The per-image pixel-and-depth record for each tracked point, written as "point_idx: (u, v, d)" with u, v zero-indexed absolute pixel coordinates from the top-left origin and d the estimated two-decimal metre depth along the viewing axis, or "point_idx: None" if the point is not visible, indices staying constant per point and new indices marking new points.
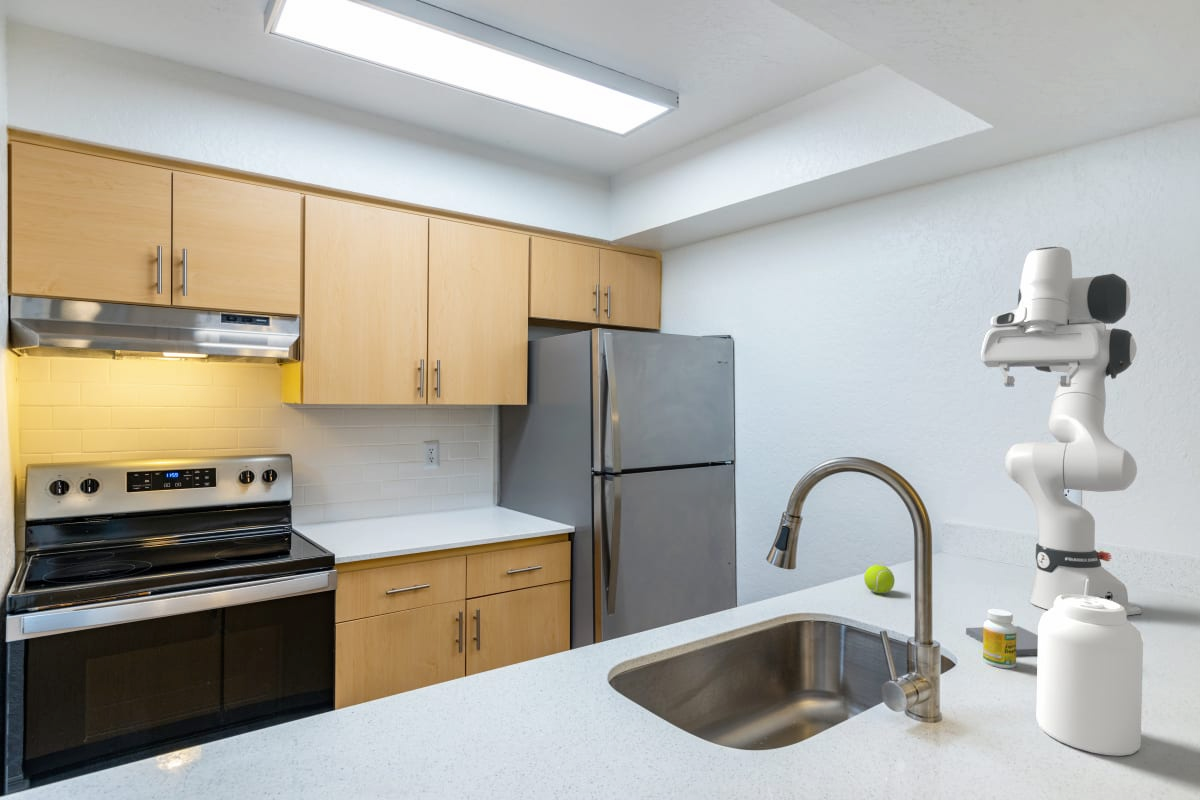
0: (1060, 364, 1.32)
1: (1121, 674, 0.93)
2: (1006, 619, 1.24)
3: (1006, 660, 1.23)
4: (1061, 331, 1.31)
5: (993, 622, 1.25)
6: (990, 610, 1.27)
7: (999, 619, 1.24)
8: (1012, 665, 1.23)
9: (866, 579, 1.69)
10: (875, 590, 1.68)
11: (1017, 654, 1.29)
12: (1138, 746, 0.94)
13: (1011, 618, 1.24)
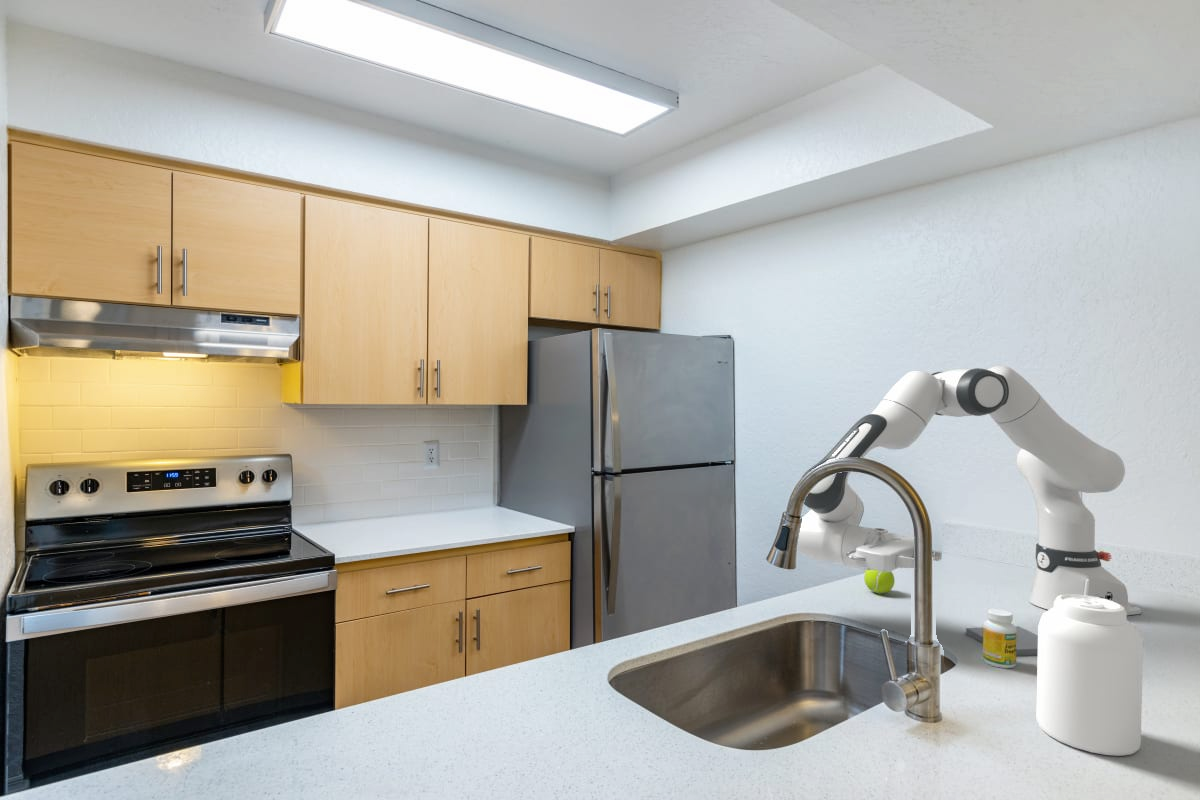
0: None
1: (1121, 674, 0.93)
2: (1006, 619, 1.24)
3: (1006, 660, 1.23)
4: None
5: (993, 622, 1.25)
6: (990, 610, 1.27)
7: (999, 619, 1.24)
8: (1012, 665, 1.23)
9: (866, 579, 1.69)
10: (875, 590, 1.68)
11: (1017, 654, 1.29)
12: (1138, 746, 0.94)
13: (1011, 618, 1.24)
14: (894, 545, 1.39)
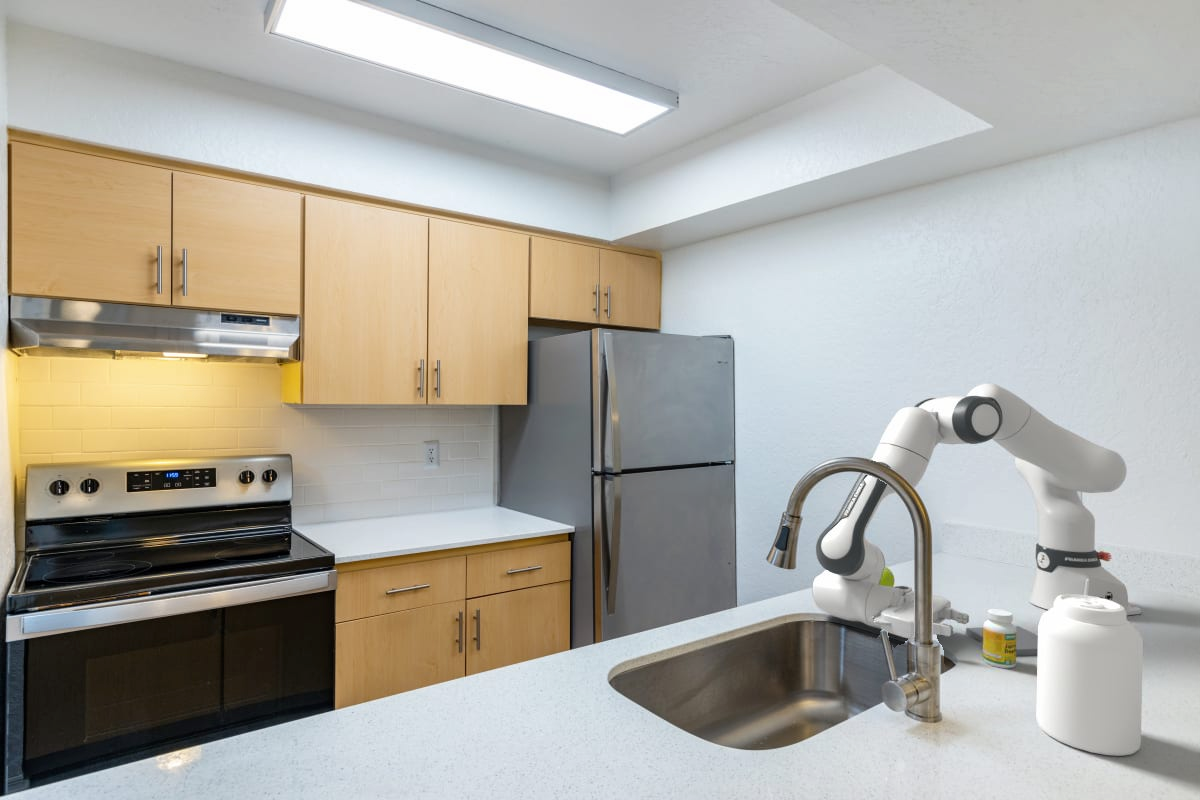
0: None
1: (1121, 674, 0.93)
2: (1006, 619, 1.24)
3: (1006, 660, 1.23)
4: None
5: (993, 622, 1.25)
6: (990, 610, 1.27)
7: (999, 619, 1.24)
8: (1012, 665, 1.23)
9: None
10: None
11: (1017, 654, 1.29)
12: (1138, 746, 0.94)
13: (1011, 618, 1.24)
14: None
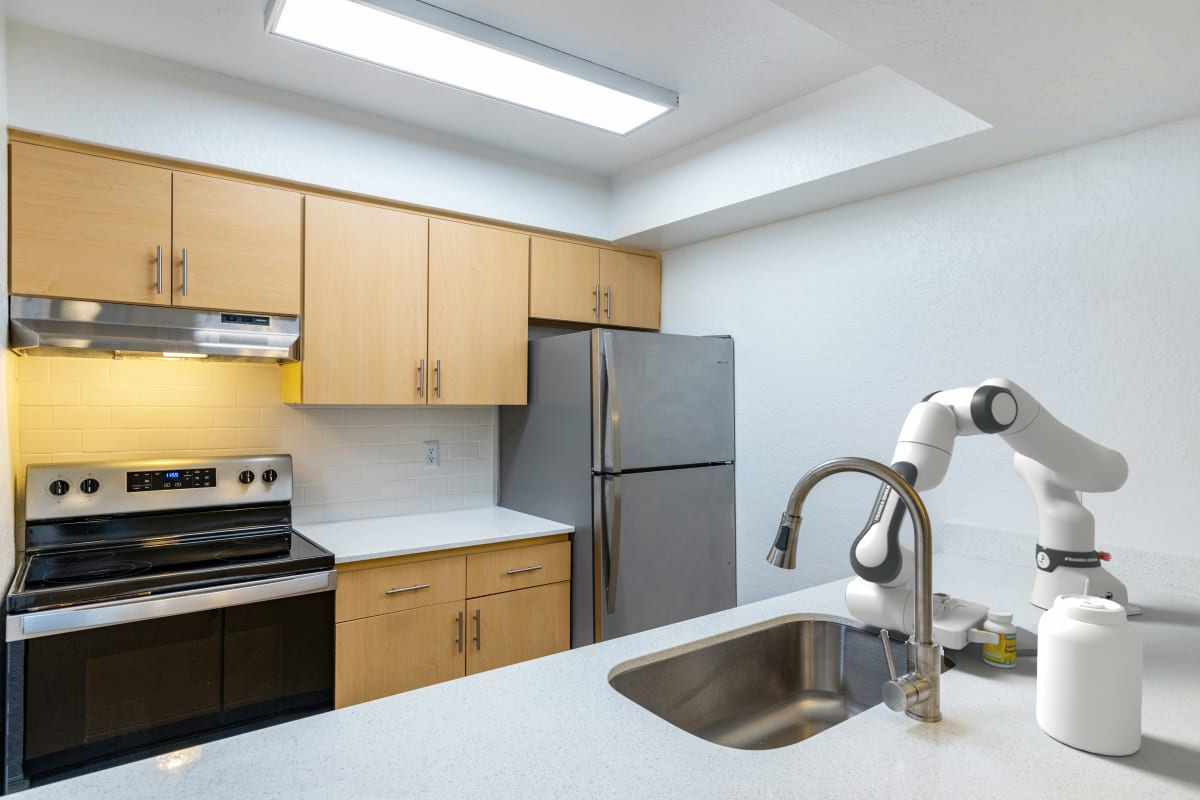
0: None
1: (1121, 674, 0.93)
2: (1006, 619, 1.24)
3: (1006, 659, 1.23)
4: None
5: (993, 622, 1.25)
6: (990, 610, 1.27)
7: (999, 619, 1.24)
8: (1012, 665, 1.23)
9: None
10: None
11: (1017, 654, 1.29)
12: (1138, 746, 0.94)
13: (1011, 618, 1.24)
14: (961, 616, 1.30)
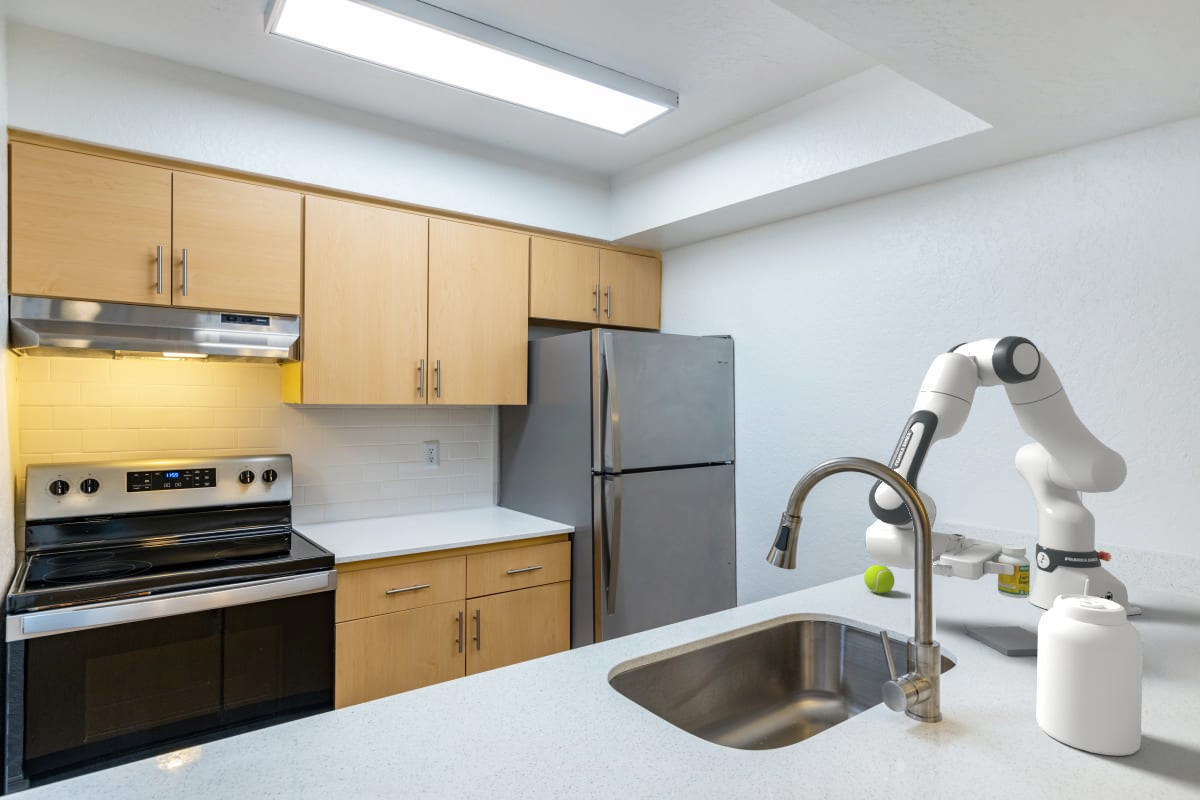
0: None
1: (1121, 674, 0.93)
2: (1020, 552, 1.31)
3: (1020, 590, 1.30)
4: None
5: (1007, 555, 1.32)
6: (1004, 545, 1.34)
7: (1013, 552, 1.31)
8: (1026, 595, 1.31)
9: (866, 579, 1.69)
10: (875, 590, 1.68)
11: (1017, 654, 1.29)
12: (1138, 746, 0.94)
13: (1025, 551, 1.31)
14: (977, 551, 1.37)
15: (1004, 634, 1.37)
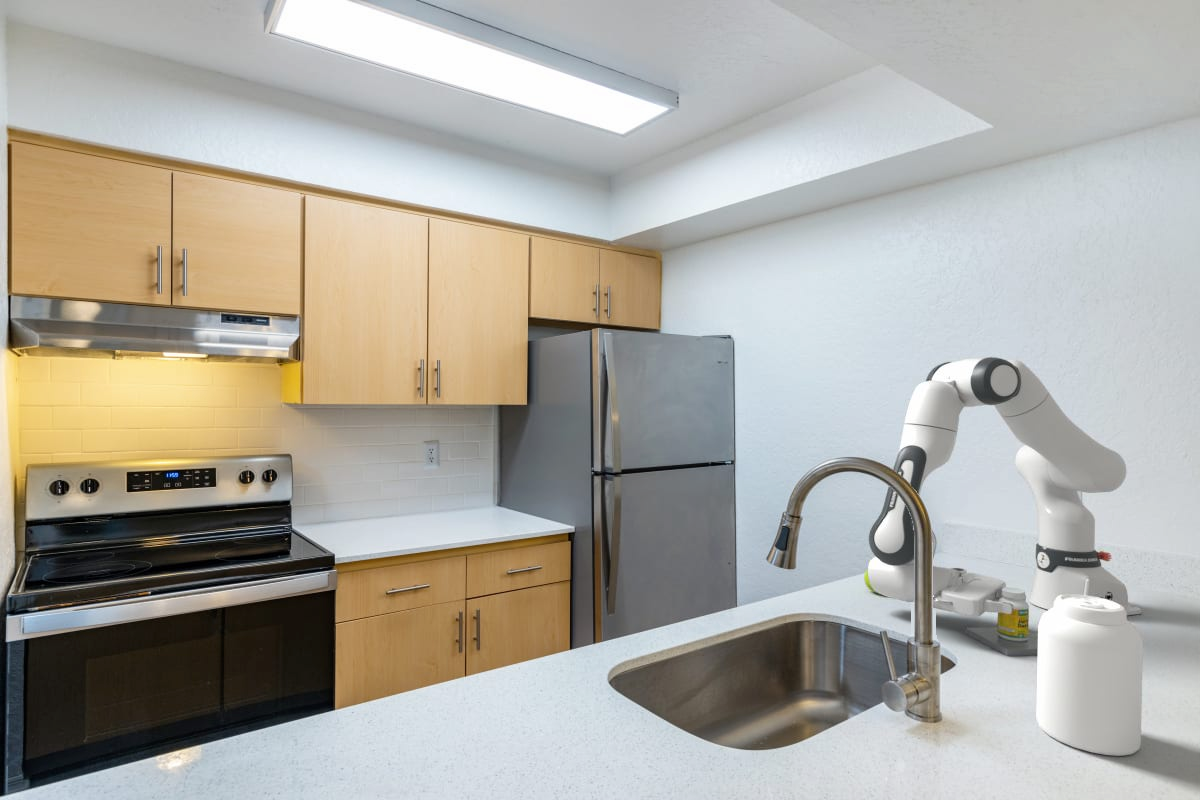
0: None
1: (1121, 673, 0.93)
2: (1019, 596, 1.34)
3: (1019, 633, 1.33)
4: None
5: (1007, 599, 1.35)
6: (1004, 588, 1.37)
7: (1013, 596, 1.34)
8: (1025, 638, 1.33)
9: (866, 579, 1.69)
10: None
11: (1017, 654, 1.29)
12: (1138, 746, 0.94)
13: (1024, 595, 1.34)
14: (978, 587, 1.40)
15: None
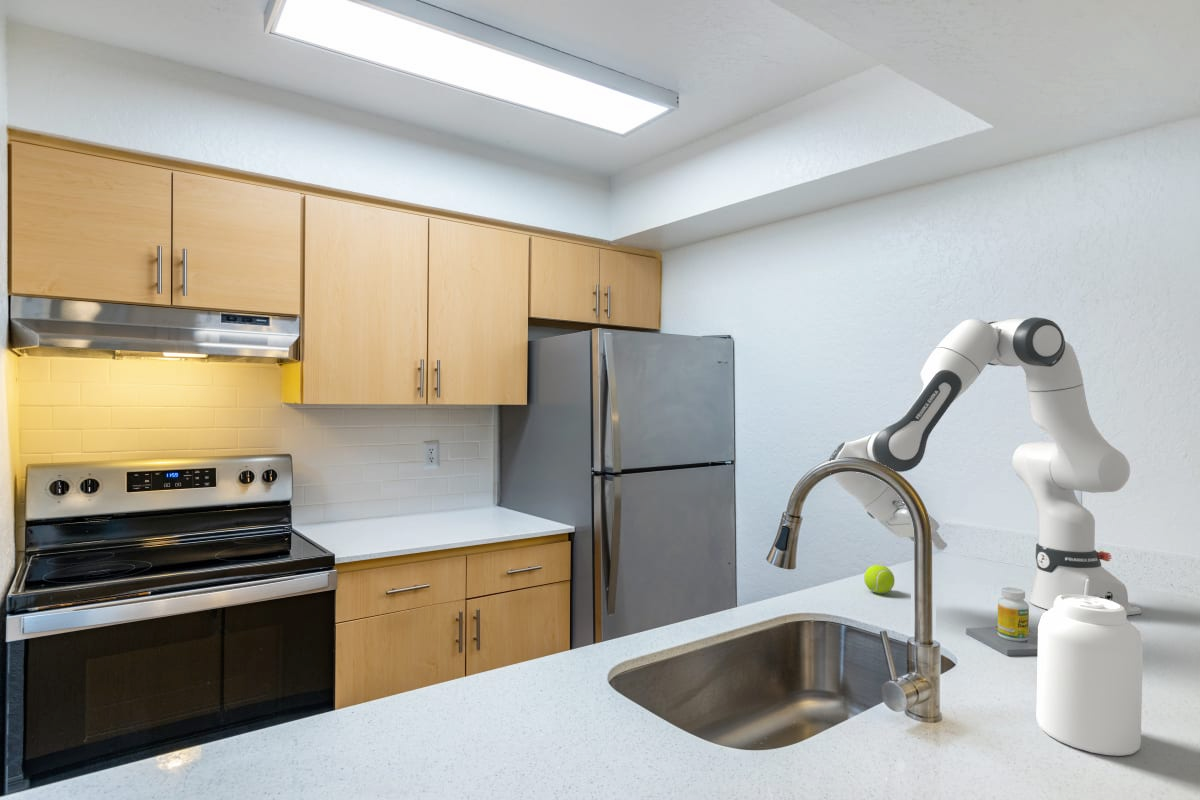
0: None
1: (1121, 674, 0.93)
2: (1019, 596, 1.34)
3: (1019, 633, 1.33)
4: (898, 518, 1.49)
5: (1007, 599, 1.35)
6: (1004, 588, 1.37)
7: (1013, 596, 1.34)
8: (1025, 638, 1.33)
9: (866, 579, 1.69)
10: (875, 590, 1.68)
11: (1017, 654, 1.29)
12: (1138, 746, 0.94)
13: (1024, 595, 1.34)
14: None
15: None
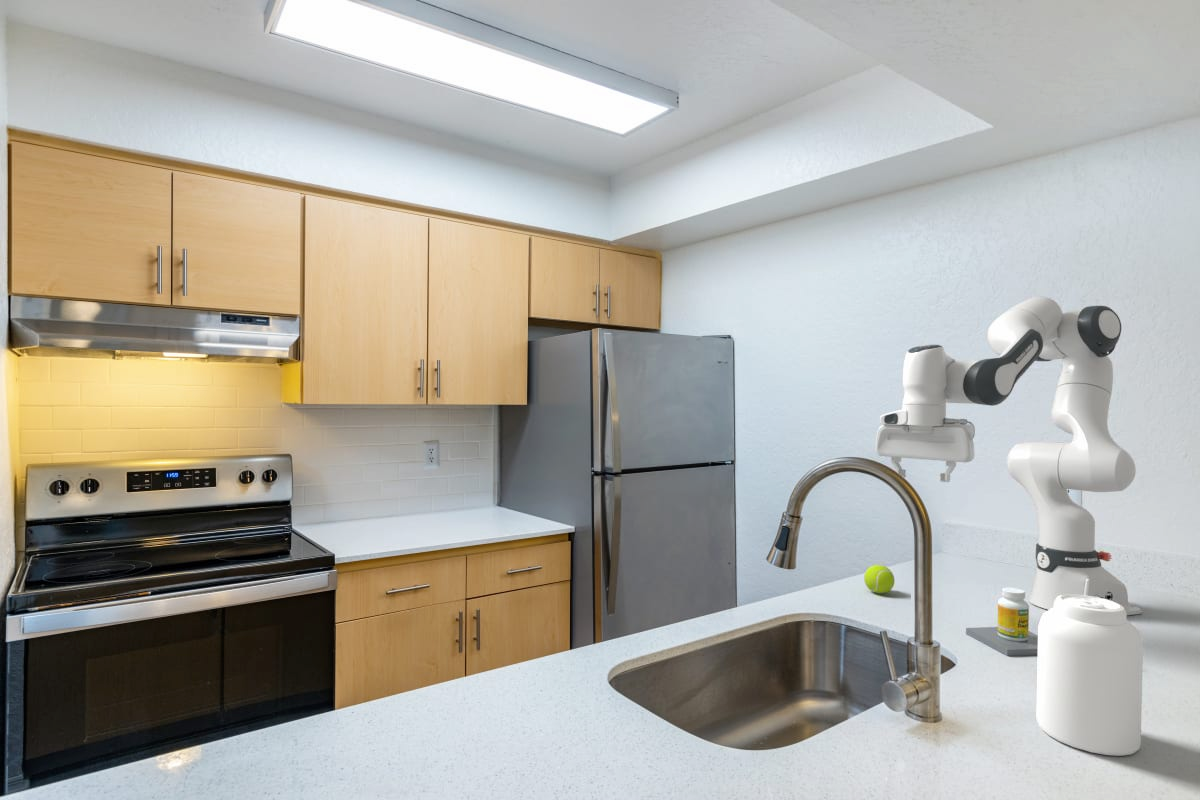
0: None
1: (1121, 674, 0.93)
2: (1019, 596, 1.34)
3: (1019, 633, 1.33)
4: (938, 433, 1.46)
5: (1007, 599, 1.35)
6: (1004, 588, 1.37)
7: (1013, 596, 1.34)
8: (1025, 639, 1.33)
9: (866, 579, 1.69)
10: (875, 590, 1.68)
11: (1017, 654, 1.29)
12: (1138, 746, 0.94)
13: (1024, 595, 1.34)
14: None
15: None
